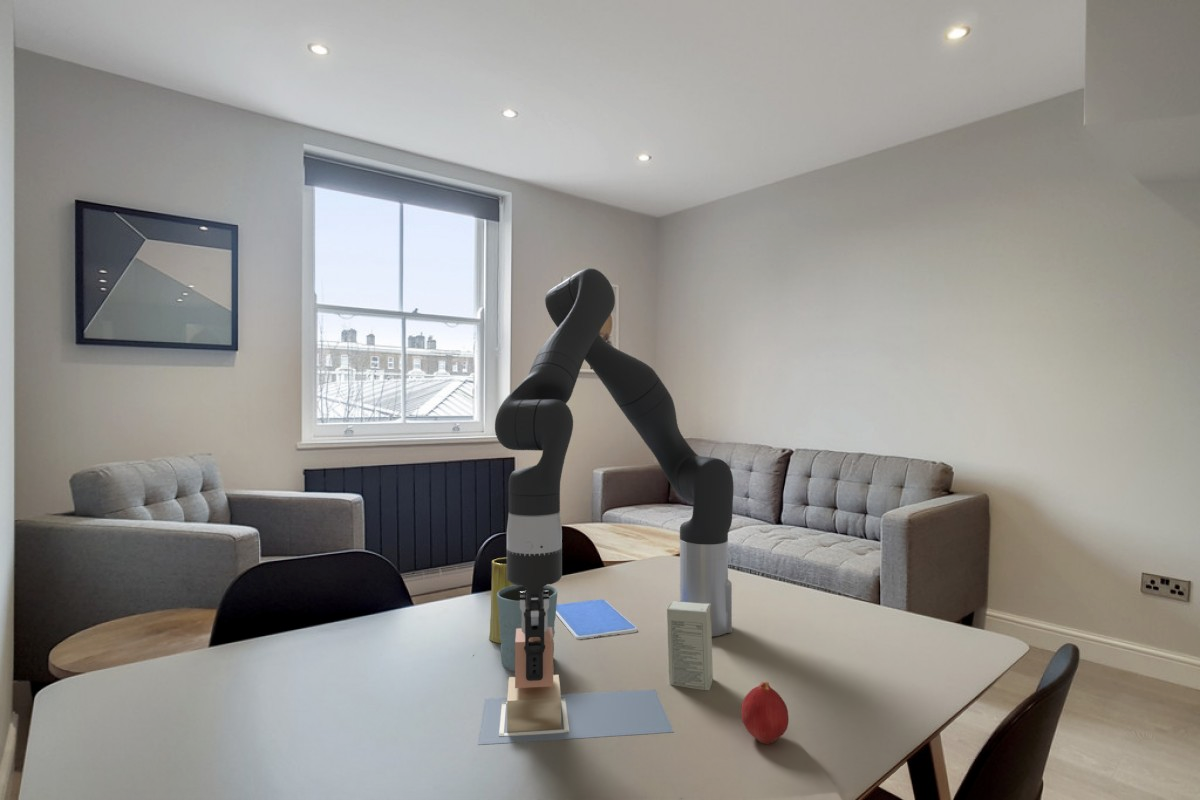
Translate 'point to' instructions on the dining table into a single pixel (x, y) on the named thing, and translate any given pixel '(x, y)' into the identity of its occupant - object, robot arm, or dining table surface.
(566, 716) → the board
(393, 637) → the dining table surface
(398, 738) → the dining table surface
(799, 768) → the dining table surface
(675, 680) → the skincare box
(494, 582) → the vase
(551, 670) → the terracotta block
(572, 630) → the tablet computer
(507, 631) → the grey-green pot
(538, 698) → the oak base block
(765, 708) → the onion
